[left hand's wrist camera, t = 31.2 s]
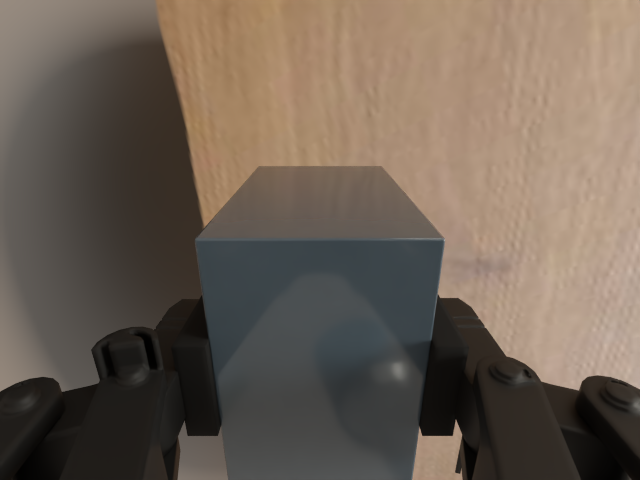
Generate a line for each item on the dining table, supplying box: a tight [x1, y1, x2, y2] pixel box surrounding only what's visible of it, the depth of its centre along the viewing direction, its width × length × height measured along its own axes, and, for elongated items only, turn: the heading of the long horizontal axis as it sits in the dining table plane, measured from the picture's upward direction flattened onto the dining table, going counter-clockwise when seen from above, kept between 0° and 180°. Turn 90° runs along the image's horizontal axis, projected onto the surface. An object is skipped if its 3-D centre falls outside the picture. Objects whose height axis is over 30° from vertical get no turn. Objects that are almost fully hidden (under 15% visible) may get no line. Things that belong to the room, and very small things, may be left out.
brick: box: [195, 166, 445, 480], centre depth 13 cm, size 8×5×8 cm, turn 0°
